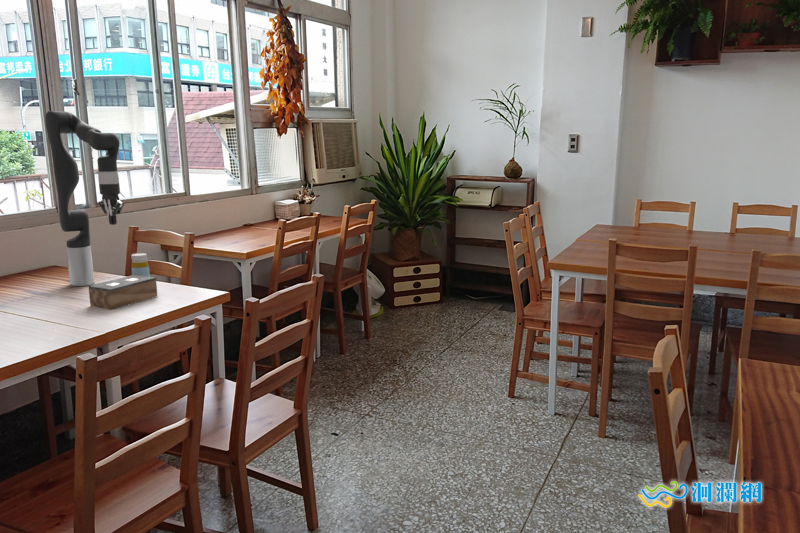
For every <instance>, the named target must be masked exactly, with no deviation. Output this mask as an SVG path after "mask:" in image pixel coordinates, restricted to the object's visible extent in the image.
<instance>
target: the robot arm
mask: <svg viewBox="0 0 800 533" xmlns="http://www.w3.org/2000/svg"><path fill="white" fill-rule="evenodd" d="M44 120H45V122H44V123H45V128H46V133H47V137H48V141H49V145H50V146H49V147H50V151H51V158H52V164H53V167H52V168H53V174H54V181H55V185H56V191H57V201H58V212H59V215H58V216H59V223H60V227H61V229H62V231H63V232H65V233H68V232H79V233H78V234H77V235H76V236H74V237H71V238H69V239H67V240H66V250H67V257H68V258H67V259H68V263H67V269H68V276H69V277H68V278H69V285H70V286H73V287H85V286H90V285H94V284H95V275H94V274H95V273H94V266H93V265H94V264H93V256H92V254H93V253H92V246H91V235H90V220H89V219H90V217H89V213H88V211H86V210H85V209H72V210H71V209H69V202H70V199H71V198H72V197H71V196H72V194H73V193H74V192H75V189H76V188H77V186H78V184H79V181H80V174H79V166H78V163H77V160H75V158H74V156H72V154H71V153H70V151H69V150H68V149H67V148H66V146H65V144H64V142H63V138H62V136H61V134H76V136H77V138H78V139H79V140H81V141H82V142H85V143H87V144H88V145H89V146H90V147H91V148H92V149H93V150H95V151H106V153H105V155H104V156H103V155H102V156H99V157H98V158H97V170H98V176H97V178H98V188H99V189H98V190H99V194H100V195H102V196H101V200H100V201H98V206H100V209H102V212H103V213H104V214H105V215H107V217H108V223H109V225H111V226H113V225H117V223H118V221H117V215H119V214H121V211H122V209H123V208H124V205H125V203H124V202H122V201H121V200H120V197H119V195H120V193H121V189H120V177H119V176H120V175H119V173H118V172H119V171H118V164H117V161H118V154H119V150H120V145H121V144H120V139H119V136H118V135H117V134H116V133H114V132H102V131H101V130H100V129H99V128H97V127H94V126H92V125H89V124H88V123H86V122H84V121H83V120H81V119H80V118H79V117H77V115H75V114H73V112H69V111H61V110H59V111H58V110H49V111H47V112H46V113H45V116H44Z"/></svg>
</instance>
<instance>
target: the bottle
mask: <svg viewBox="0 0 800 533" xmlns="http://www.w3.org/2000/svg"><path fill="white" fill-rule="evenodd" d="M130 256H131V257H130V258H131V264H130V266H131V275H142V276H148V277H151V275H150V264H149V262H148V254H147V253H146V252H145V253H144V252H138V253H137V252H136V253H132V254H131V255H130Z"/></svg>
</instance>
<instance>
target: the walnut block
mask: <svg viewBox="0 0 800 533" xmlns="http://www.w3.org/2000/svg"><path fill="white" fill-rule="evenodd" d="M131 278H137V279H138V280H134V281H128V280H127V279H131ZM110 283H120V284H118V285H114V286H109V285H106V284H110ZM157 285H158V284H157V277H155V276H154V277H153V276H150V277H148V276H142V275H132V274H131V275H129V276H125V277H124V276H122V277H119V278H116V279H112V280H107V281H103V282H98V283H96V284H95V283H94V284H91V285H87V286H88V294H89V304H90V305H91V306H90V307H94V306H95V308H100V309H107V310H110V309H111V311H112V309H113V310H115V308H116V309H119V308H122V306H123V307H126V306H128V304H130V305H133V304H136V303H139V301H140V302H143V301H146V300H145V299H147V300H149V299H148V298H150V299H153V298H152V297H154V298H156V297H155V296H157V297H158V289H157V288H158V287H157ZM142 300H143V301H142ZM135 302H136V303H135ZM132 303H133V304H132ZM125 305H126V306H125Z"/></svg>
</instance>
